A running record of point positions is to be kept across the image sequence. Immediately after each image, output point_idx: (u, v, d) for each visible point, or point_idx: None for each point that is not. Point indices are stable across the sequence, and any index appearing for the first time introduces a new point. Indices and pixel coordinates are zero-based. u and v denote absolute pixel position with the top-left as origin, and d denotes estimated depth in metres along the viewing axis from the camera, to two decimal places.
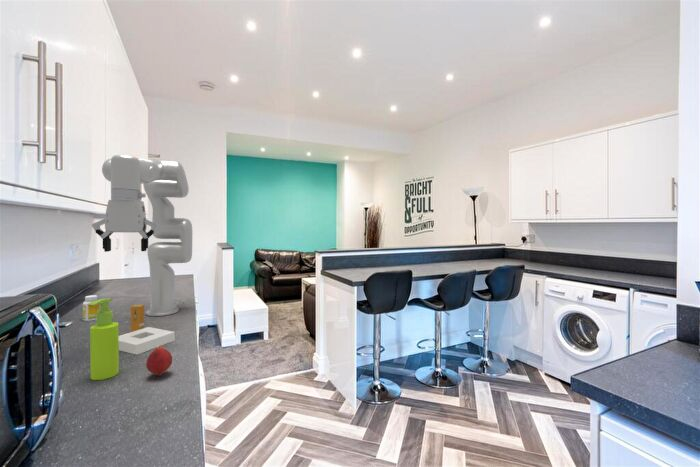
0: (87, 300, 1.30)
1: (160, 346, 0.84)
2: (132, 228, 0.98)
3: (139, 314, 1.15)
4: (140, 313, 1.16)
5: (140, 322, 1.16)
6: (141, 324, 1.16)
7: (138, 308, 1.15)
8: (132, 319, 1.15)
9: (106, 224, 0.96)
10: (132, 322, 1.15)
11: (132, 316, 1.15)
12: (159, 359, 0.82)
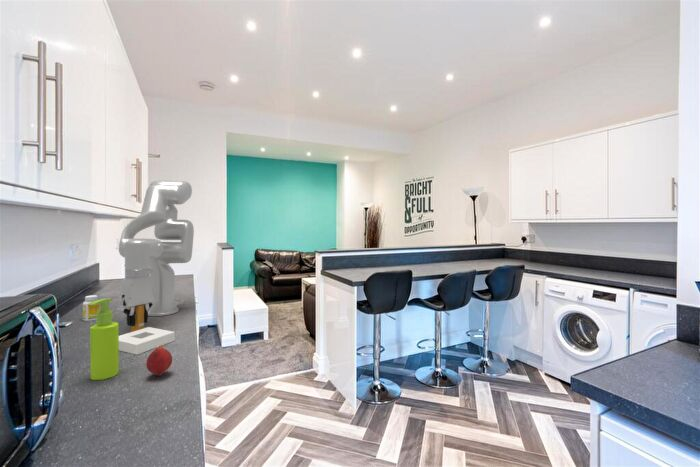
0: (87, 300, 1.30)
1: (160, 346, 0.84)
2: (147, 300, 1.18)
3: (139, 314, 1.15)
4: (140, 313, 1.16)
5: (140, 322, 1.16)
6: (141, 324, 1.16)
7: (138, 308, 1.15)
8: None
9: (128, 301, 1.12)
10: None
11: None
12: (160, 360, 0.82)
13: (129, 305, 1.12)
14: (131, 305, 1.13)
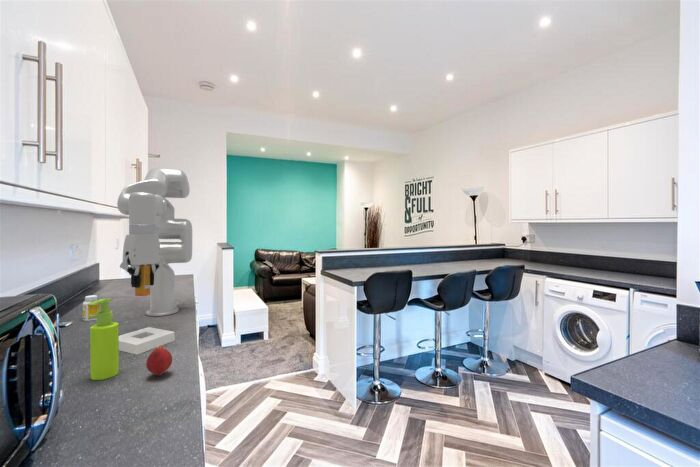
0: (87, 300, 1.30)
1: (160, 346, 0.84)
2: (154, 260, 1.06)
3: (145, 275, 1.04)
4: (146, 274, 1.04)
5: (146, 284, 1.04)
6: (147, 286, 1.05)
7: (143, 268, 1.04)
8: None
9: (133, 258, 1.00)
10: None
11: None
12: (160, 359, 0.82)
13: (134, 263, 1.00)
14: (136, 263, 1.01)
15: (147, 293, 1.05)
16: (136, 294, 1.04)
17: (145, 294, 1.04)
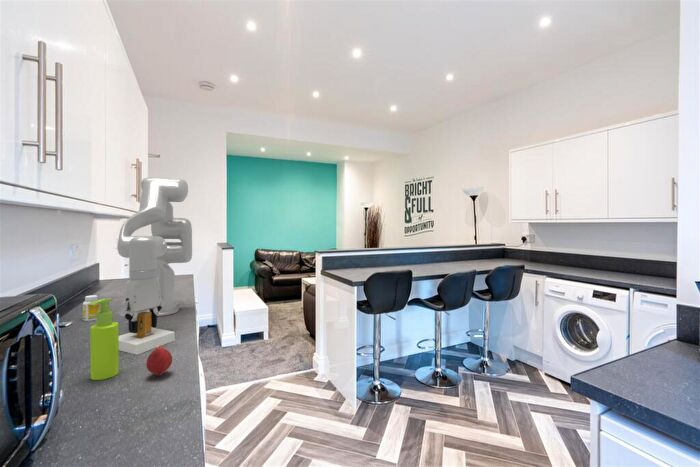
0: (87, 300, 1.30)
1: (160, 346, 0.84)
2: (154, 304, 1.07)
3: (146, 323, 1.04)
4: (147, 322, 1.05)
5: (147, 331, 1.05)
6: (148, 334, 1.05)
7: (144, 316, 1.04)
8: (138, 328, 1.04)
9: (133, 305, 1.00)
10: (138, 331, 1.04)
11: (138, 325, 1.04)
12: (160, 360, 0.82)
13: (134, 310, 1.01)
14: (136, 310, 1.01)
15: None
16: None
17: None
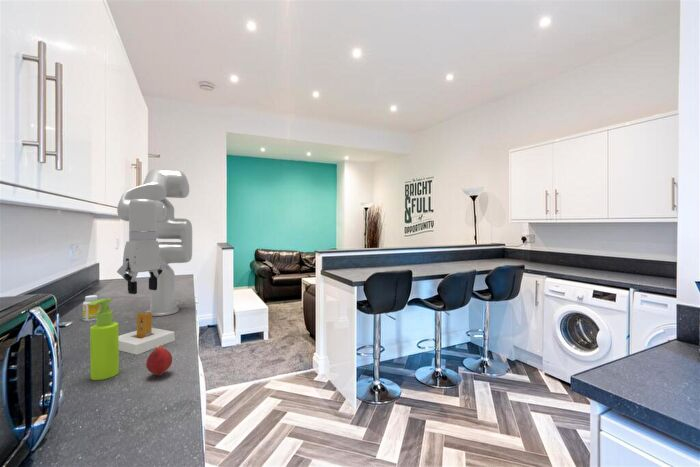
0: (87, 300, 1.30)
1: (160, 346, 0.84)
2: (154, 267, 1.06)
3: (146, 323, 1.04)
4: (147, 322, 1.05)
5: (147, 331, 1.05)
6: (148, 334, 1.05)
7: (145, 316, 1.04)
8: (139, 328, 1.04)
9: (133, 265, 1.00)
10: (138, 331, 1.04)
11: (138, 325, 1.04)
12: (160, 359, 0.82)
13: (134, 270, 1.00)
14: (136, 270, 1.01)
15: None
16: None
17: None
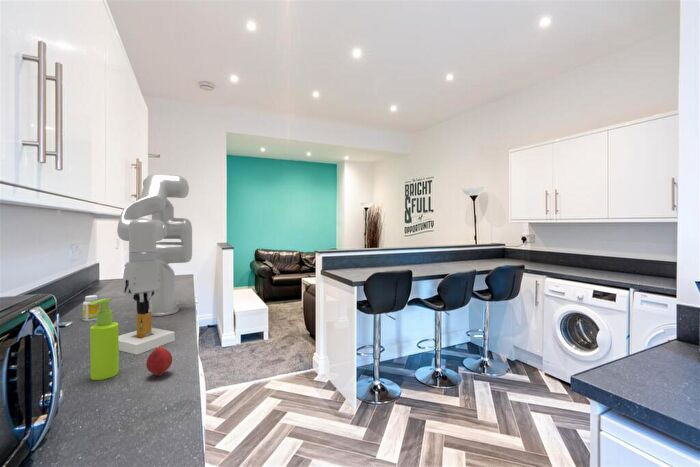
0: (87, 300, 1.30)
1: (160, 346, 0.84)
2: (154, 287, 1.06)
3: (146, 323, 1.04)
4: (147, 322, 1.05)
5: (147, 331, 1.05)
6: (148, 334, 1.05)
7: (144, 316, 1.04)
8: (138, 328, 1.04)
9: (133, 287, 1.00)
10: (138, 331, 1.04)
11: (138, 325, 1.04)
12: (160, 359, 0.82)
13: (134, 291, 1.00)
14: (136, 292, 1.01)
15: None
16: None
17: None
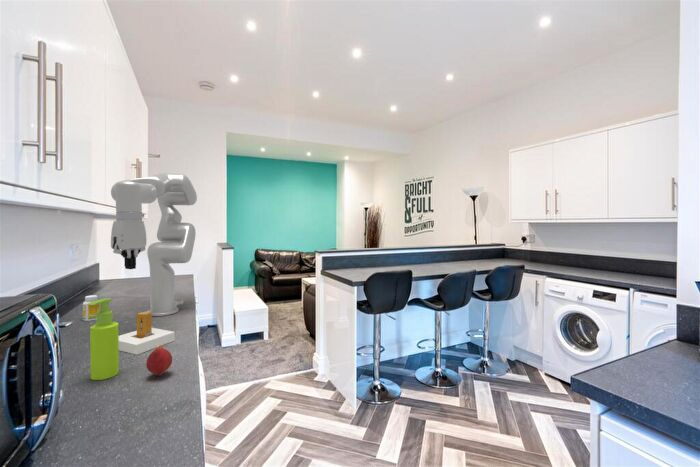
0: (87, 300, 1.30)
1: (160, 346, 0.84)
2: (140, 245, 1.15)
3: (146, 323, 1.04)
4: (147, 322, 1.05)
5: (147, 331, 1.05)
6: (148, 334, 1.05)
7: (145, 316, 1.04)
8: (139, 328, 1.04)
9: (121, 243, 1.08)
10: (138, 331, 1.04)
11: (138, 325, 1.04)
12: (160, 359, 0.82)
13: (121, 247, 1.09)
14: (123, 248, 1.09)
15: None
16: None
17: None
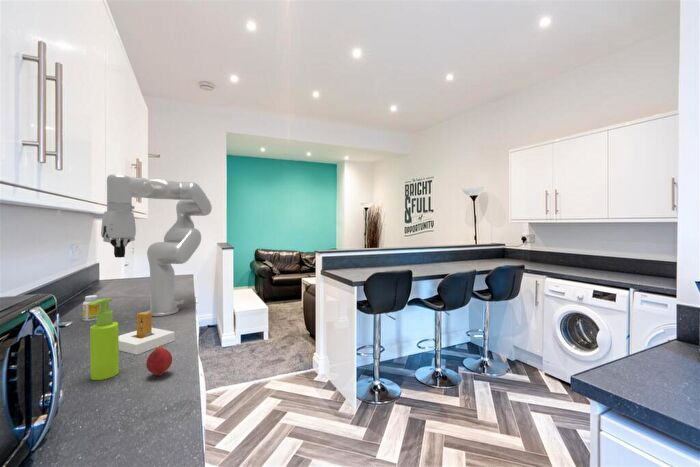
0: (87, 300, 1.30)
1: (160, 346, 0.84)
2: (129, 235, 1.21)
3: (146, 323, 1.04)
4: (147, 322, 1.05)
5: (147, 331, 1.05)
6: (148, 334, 1.05)
7: (145, 316, 1.04)
8: (139, 328, 1.04)
9: (110, 232, 1.15)
10: (138, 331, 1.04)
11: (138, 325, 1.04)
12: (160, 359, 0.82)
13: (111, 236, 1.15)
14: (113, 236, 1.16)
15: None
16: None
17: None
